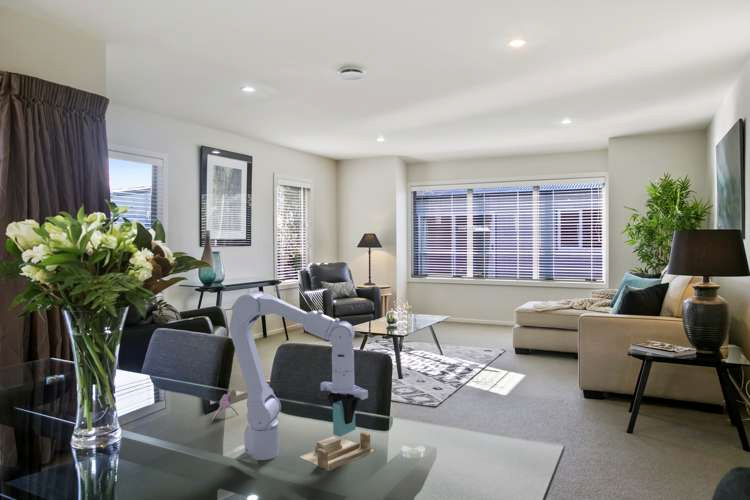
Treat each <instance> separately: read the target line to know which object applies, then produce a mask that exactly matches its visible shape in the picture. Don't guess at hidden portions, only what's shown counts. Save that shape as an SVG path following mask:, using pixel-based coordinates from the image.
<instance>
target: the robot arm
mask: <svg viewBox="0 0 750 500" xmlns="http://www.w3.org/2000/svg"><path fill="white" fill-rule="evenodd" d="M231 311H232V313H231V316H230V322H229V327H228V328H229V333H230V334H229V335H230V336H231V340H232V343H233V347H234V350H235V354H236V356H237V360H238V363H239V367H240V371H241V374H242V377H243V381H244V383H245V387H246V390H247V399H246V407H247V408H246V409H247V415H246V420H247V422H248V424H247V425H246V427H245V430H244V433H243V436H244V437H243V439H244V440H243V441H244V453H246V454H247V455H249V456H250V457H251V458H252V459H253V460H256V461H267V460H268V461H269V460H272V459H275V458H276V457H278V456H279V455H280V435H279V434H280V432H279V431H280V430H279V429H280V428H279V420H278V415H279V414H280V412H281V409H282V405H281V401H280V400H279V399H278V398H277V397H276V395H275V393H274V390H273V388H271V387H270V385H268V382H267V378H266V375H265V372H264V369H263V365H262V361H261V359H260V355H259V352H258V349H257V345H256V342H255V338H254V334H253V331H252V329H253V327H254V325H255V323H256V322H257V320H258V319H259V318H260V317H261V316H267V315H273V314H275V315H277V316H280V317H283V318H285V319H288V320H291V321H294V322H296V323H298V324H301V325H302V326H303V329H304V331H305V332H307V333H309V334H311V335H314V336H317V337H318V338H319V337H320V338H321V339H324V340H325V341H329V342H330V345H331V351H332V352H331V376H332V378H331V379H332V381H322V382H320V391H323V392H324V391H327V392H329V394H326V399H327V401H328V402H329V404H330V405H331V408H332V409H333V403H335V402H338V401H340V400H341V402H342V405H343V409H344V420H345V424H349V423H351V422H352V420H353V415H354V411H355V412H356V408H357V405H358V403H359V401H360V400H366V399H369V391H368V389H365V388H362V387H360V386H358V385H355V351H354V342H353V340H354V338H355V335H356V329H355V328H354V326H353V324H351V323H350V322H348V321H346V320H342V321H341V319H340V318H338V317H336V318H334V317H330V316H329V315H325V314H324V311H323V310H321V309H319V310H317V311H316V310H311V311H309V312H308V311H305V310H303V309H301V308H299V307H297V306H295V305H293V304H291V303H289V302H286V301H285V300H283V299H280V298H278V297H276V296H274V295H273V294H270V293H265V292H263V291H260V290H255V291H253V292H251V293H247V294H241V295H240V296H238V297H237V299H236V300H235V301H234V303H233V305H232V306H231Z"/></svg>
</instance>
